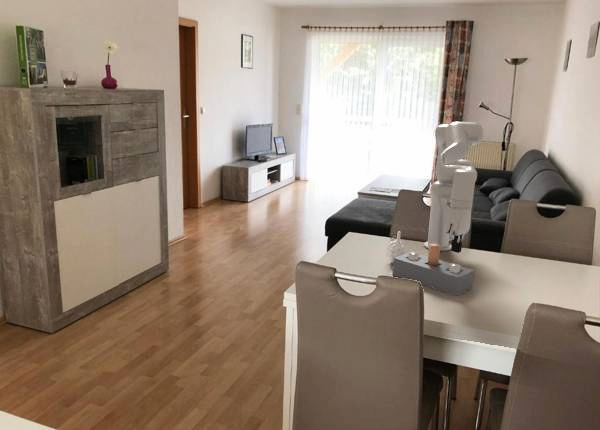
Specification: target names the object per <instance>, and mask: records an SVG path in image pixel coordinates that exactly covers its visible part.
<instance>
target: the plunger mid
mask: <svg viewBox="0 0 600 430" xmlns="http://www.w3.org/2000/svg"><path fill="white" fill-rule="evenodd" d="M440 253H441V251H440V245H438V244H430V245H429V249H428V255H427V257H428V265H430V266H434V267H437V266H438V264H439V260H440Z"/></svg>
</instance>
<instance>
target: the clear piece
mask: <svg viewBox="0 0 600 430" xmlns="http://www.w3.org/2000/svg"><path fill="white" fill-rule="evenodd" d="M460 266H461V264H458V263H453V262H452V263H451V264H449V271H450V272H454V273H459V272H460Z"/></svg>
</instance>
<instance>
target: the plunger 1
mask: <svg viewBox="0 0 600 430" xmlns="http://www.w3.org/2000/svg"><path fill="white" fill-rule="evenodd" d="M407 253H408V259H410V260H414V261H416V260H418V257H419V254H420V253H419V252H416V251H410V252H407Z"/></svg>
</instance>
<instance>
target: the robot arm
mask: <svg viewBox="0 0 600 430" xmlns="http://www.w3.org/2000/svg"><path fill="white" fill-rule="evenodd" d="M434 137H435V141H436V142H435V143H436V145H437V149H438V150H437V158H436V159H437V160H436V164H435V165H436V167H435V175H436V180H437V181H435V182H433V183H431V186H430V190H429V191H430V192H429V193H430V215H429V223H428V224H429V225H428V236H427V241H426V242H424V243H423V246H424V247H425V248H427V249H428V250H429V245H430V244H438V245H440V252H441V251H442V252H444V251H445V252H446V251H450V250H451V251H450V252H454V253H457V254H459V253H461V252H462V247H463V241H464V237H465V235H466V234H467V233H468V232H469V231H470V228H471V221H472V220H471V219H472V208H473V201H474V193H475V185H476V182H477V178H478V172H477V170H476V168H475V167H474V166H473V165H474V164H473V163H472V161H471V160H468V159H465V158H466V157H467V156H468V155H469V153H470V147H471V146H476V145H480V144H481V142H482V141H483V137H484V129H483V126H482V125H481V123H480V122H474V121H472V122H470V121H453V122H450V123H449V124H440V125H437V126H436V128H435V131H434ZM448 203H450V204H448ZM450 241H451V243H450Z"/></svg>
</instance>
